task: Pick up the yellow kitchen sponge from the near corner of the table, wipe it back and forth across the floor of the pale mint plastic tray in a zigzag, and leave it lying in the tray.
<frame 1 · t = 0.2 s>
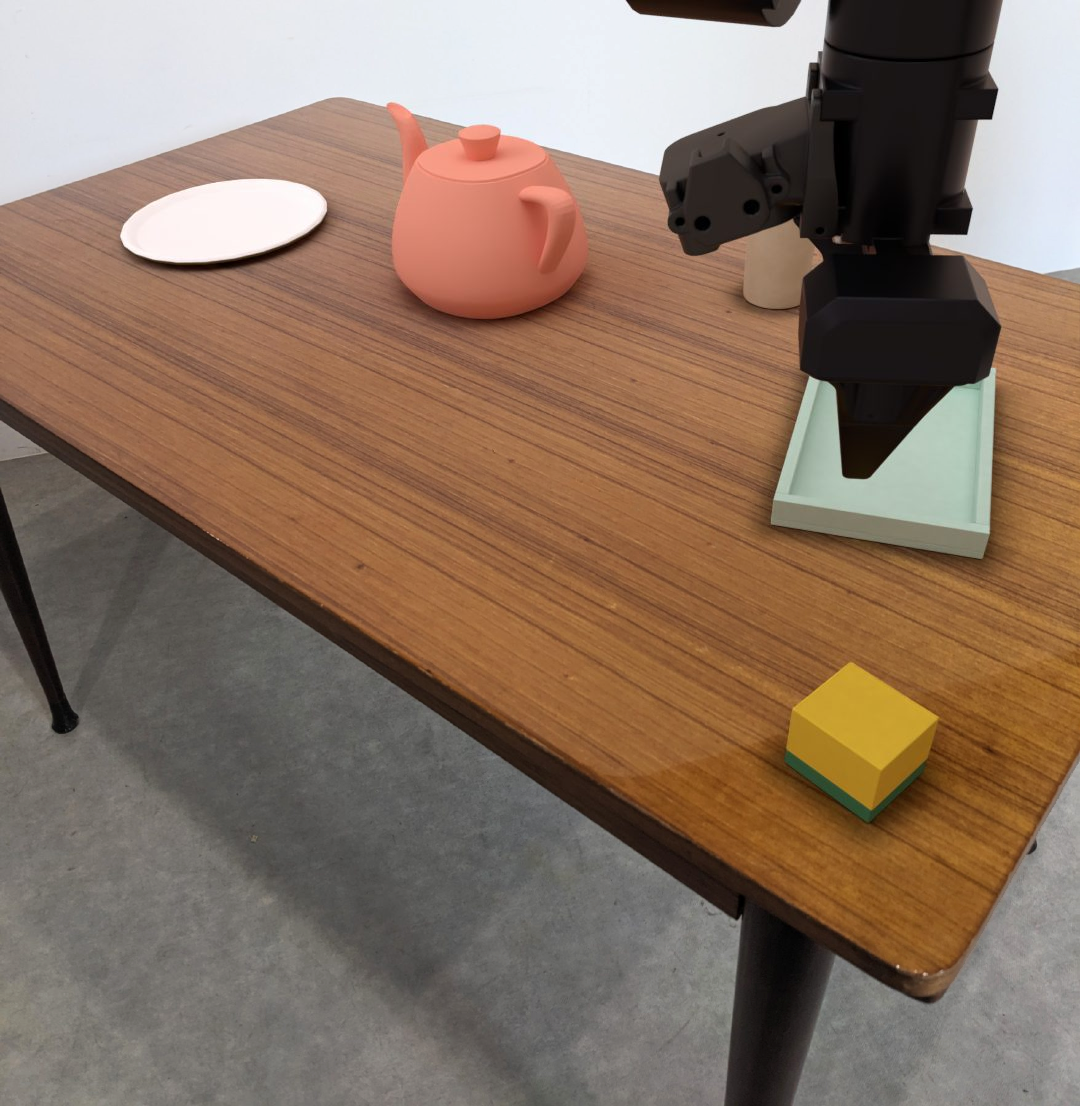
hand: (848, 416, 47), 16 cm above the table, tool pointing down, fingers open, 9 cm apart
candle: (775, 297, 90), on the table
sponge: (853, 766, 52), on the table
plate: (228, 229, 108), on the table
teapot: (486, 280, 96), on the table
tray: (888, 453, 71), on the table
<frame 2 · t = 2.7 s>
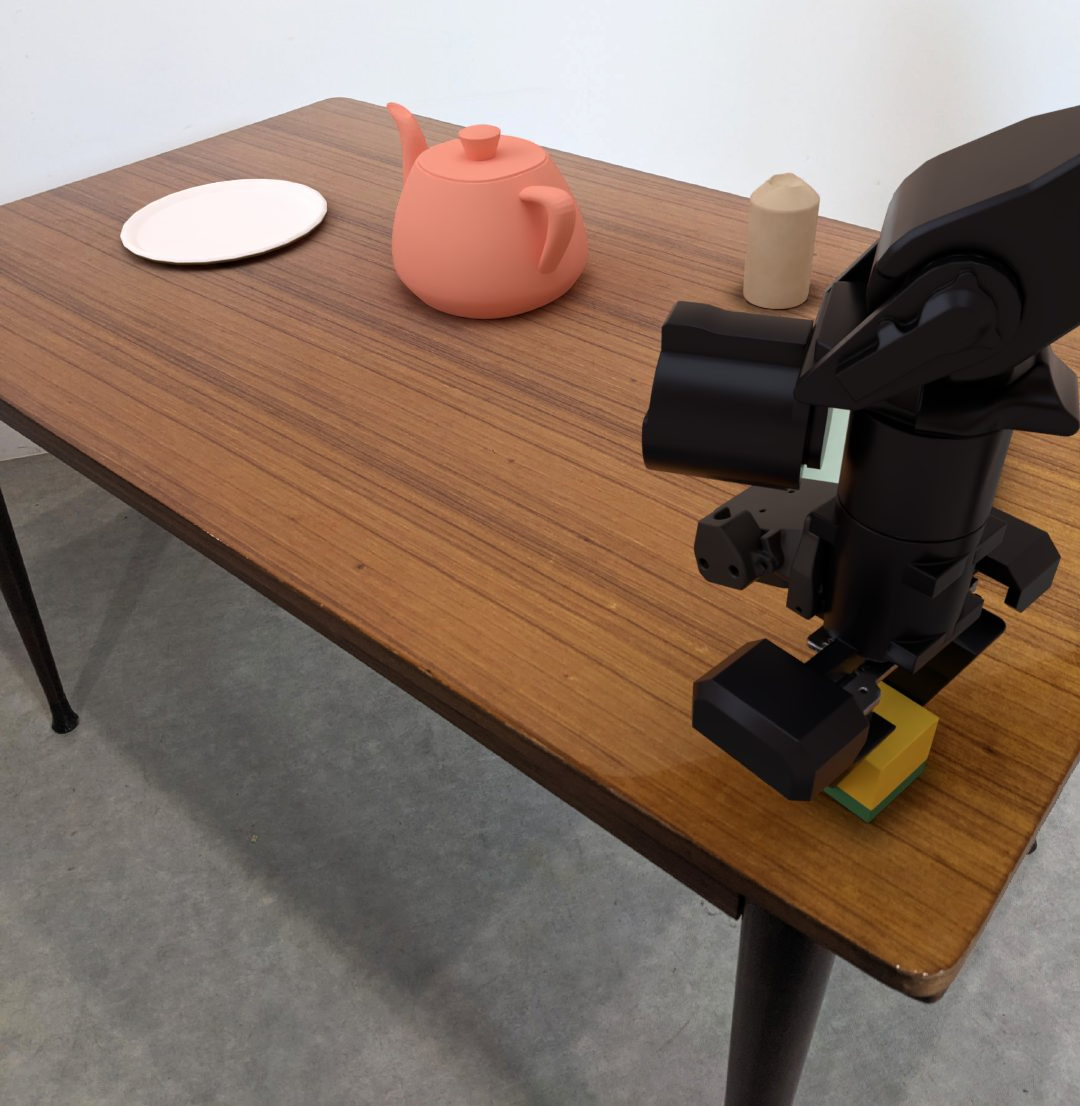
hand: (856, 753, 51), 1 cm above the table, tool pointing down, fingers closed on sponge, 4 cm apart
sponge: (853, 766, 52), on the table, touching gripper
everything else where it was.
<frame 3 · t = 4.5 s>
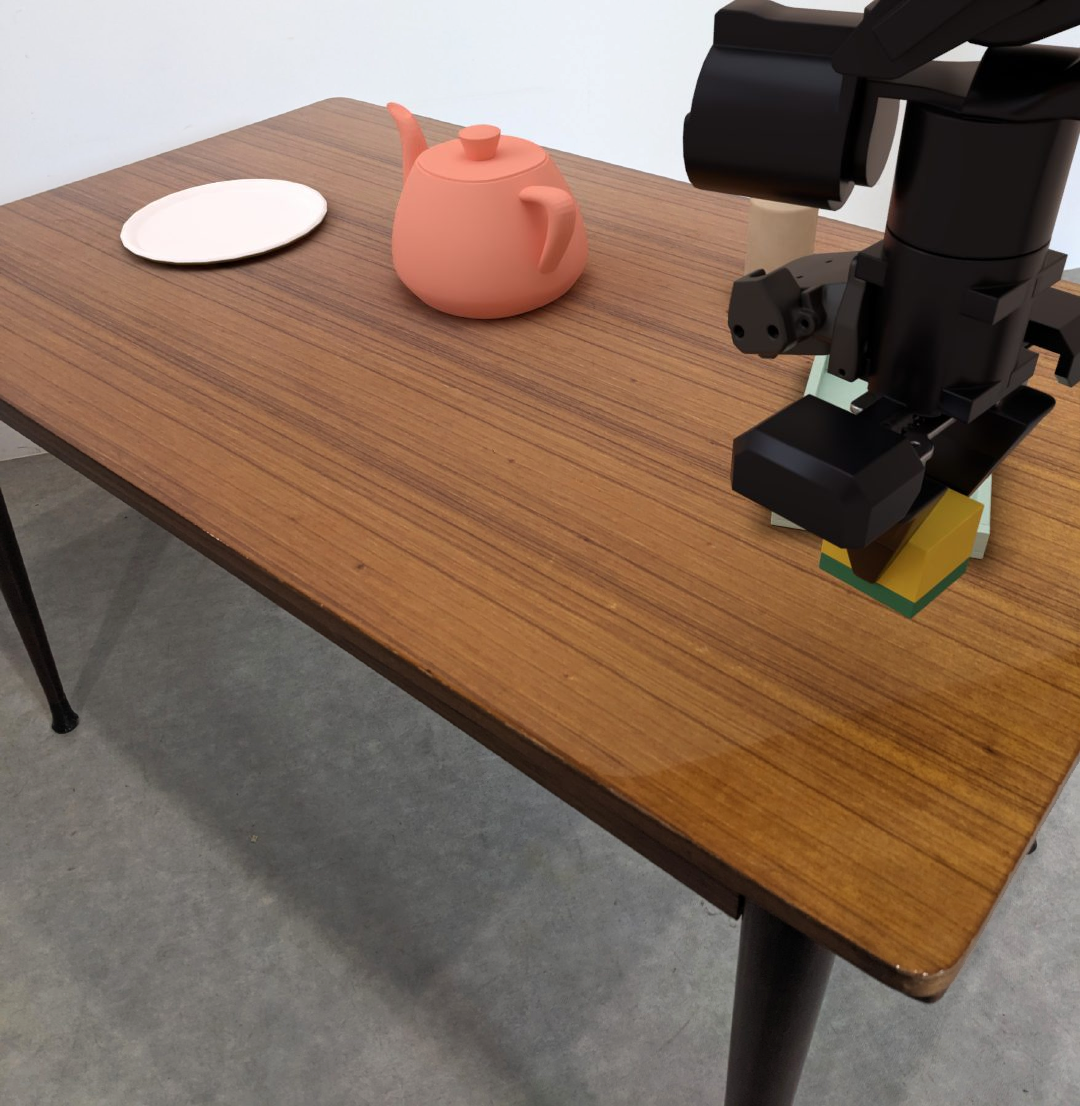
hand: (896, 553, 48), 10 cm above the table, tool pointing down, fingers closed on sponge, 4 cm apart
sponge: (891, 570, 49), point 9 cm above the table, touching gripper
everything else where it was.
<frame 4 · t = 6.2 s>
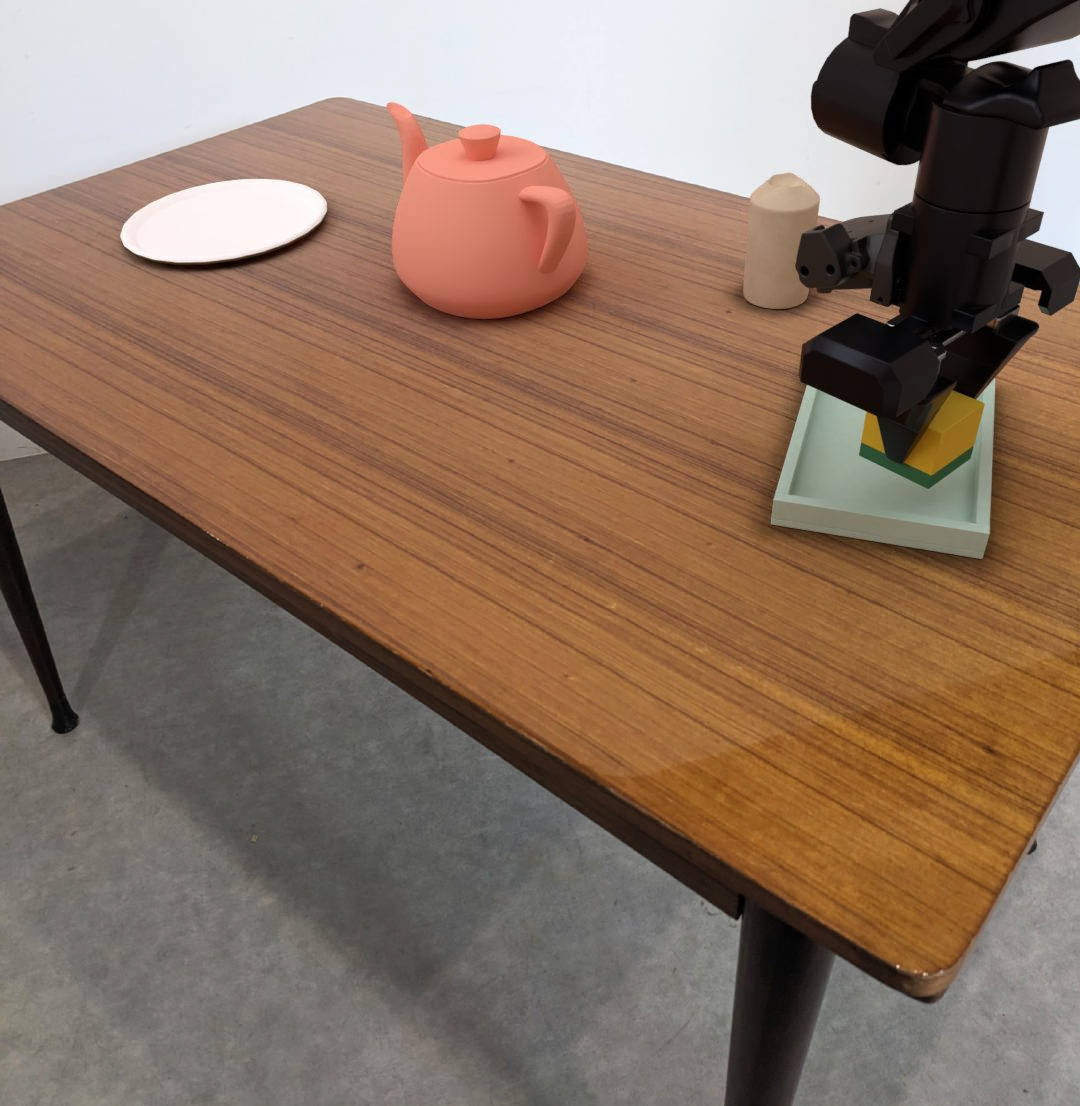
hand: (918, 444, 64), 5 cm above the table, tool pointing down, fingers closed on sponge, 4 cm apart
sponge: (914, 457, 65), point 4 cm above the table, touching gripper
everything else where it was.
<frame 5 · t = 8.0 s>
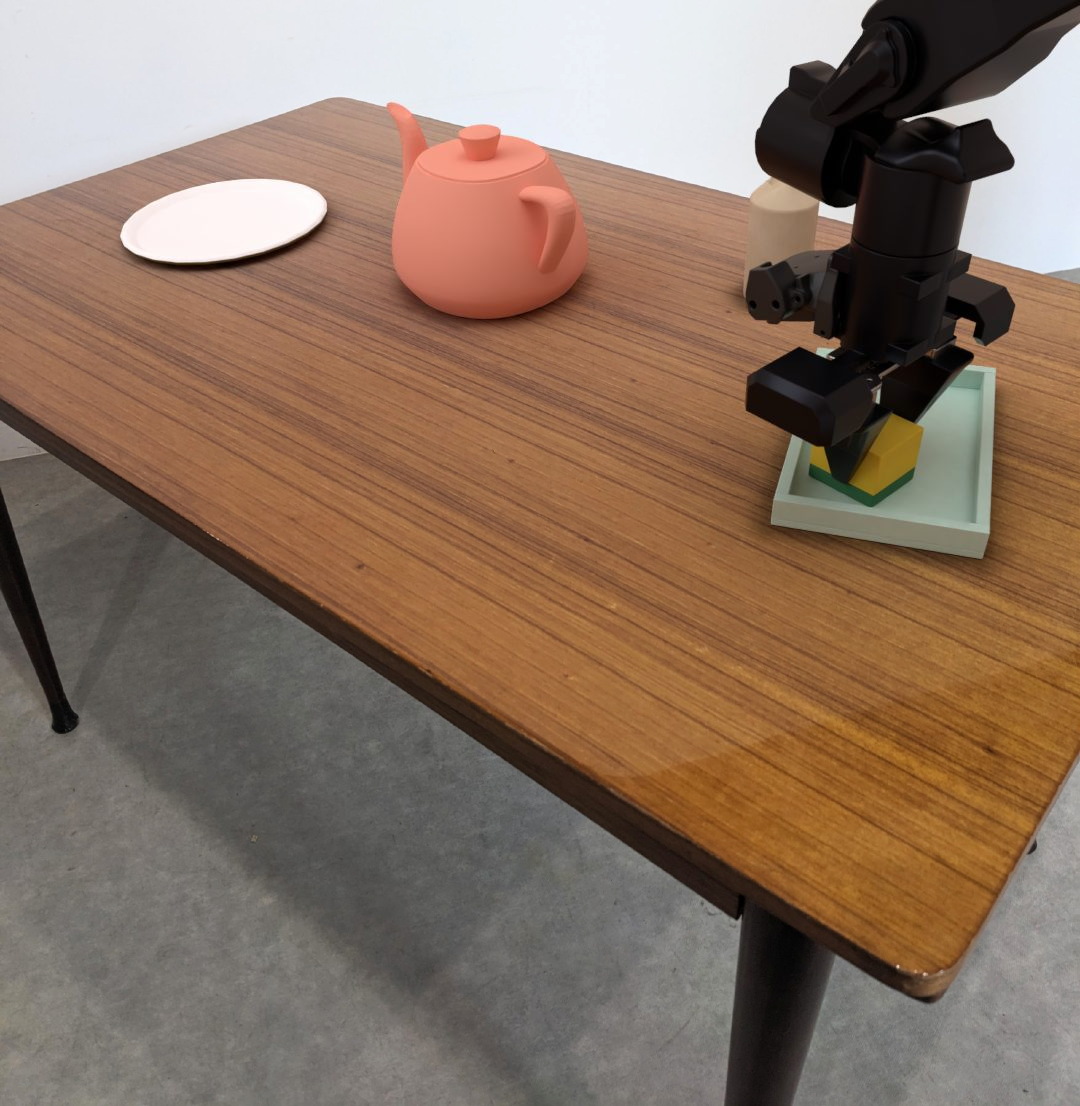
hand: (863, 465, 68), 2 cm above the table, tool pointing down, fingers closed on sponge, 4 cm apart
sponge: (860, 477, 69), point 1 cm above the table, touching gripper, tray
everything else where it was.
when the fingers open (1 cm above the table, at t = 9.6 s): sponge stays where it is, resting on tray.
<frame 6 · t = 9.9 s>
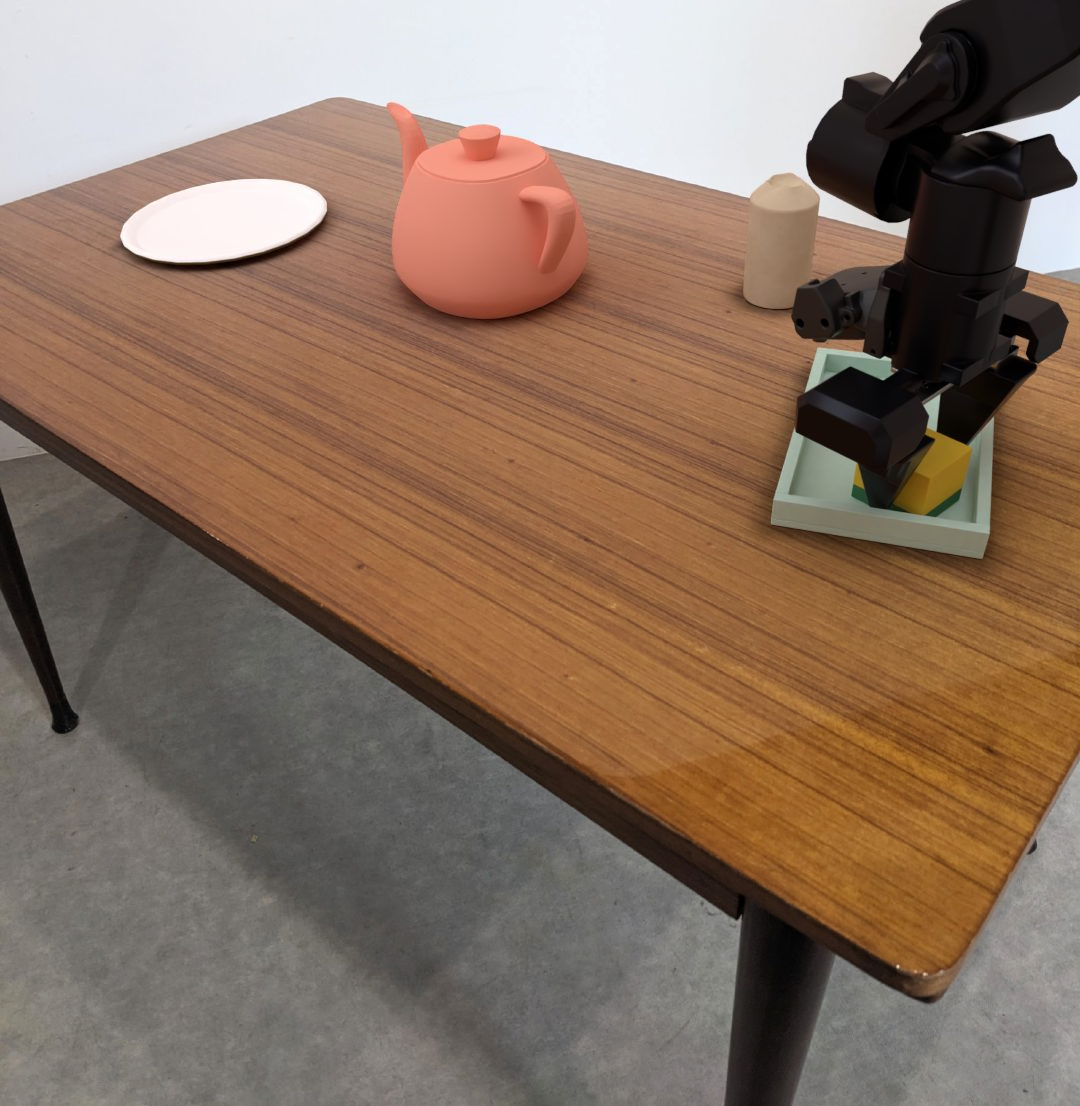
hand: (911, 485, 66), 1 cm above the table, tool pointing down, fingers open, 7 cm apart
sponge: (904, 498, 67), resting on tray
everything else where it was.
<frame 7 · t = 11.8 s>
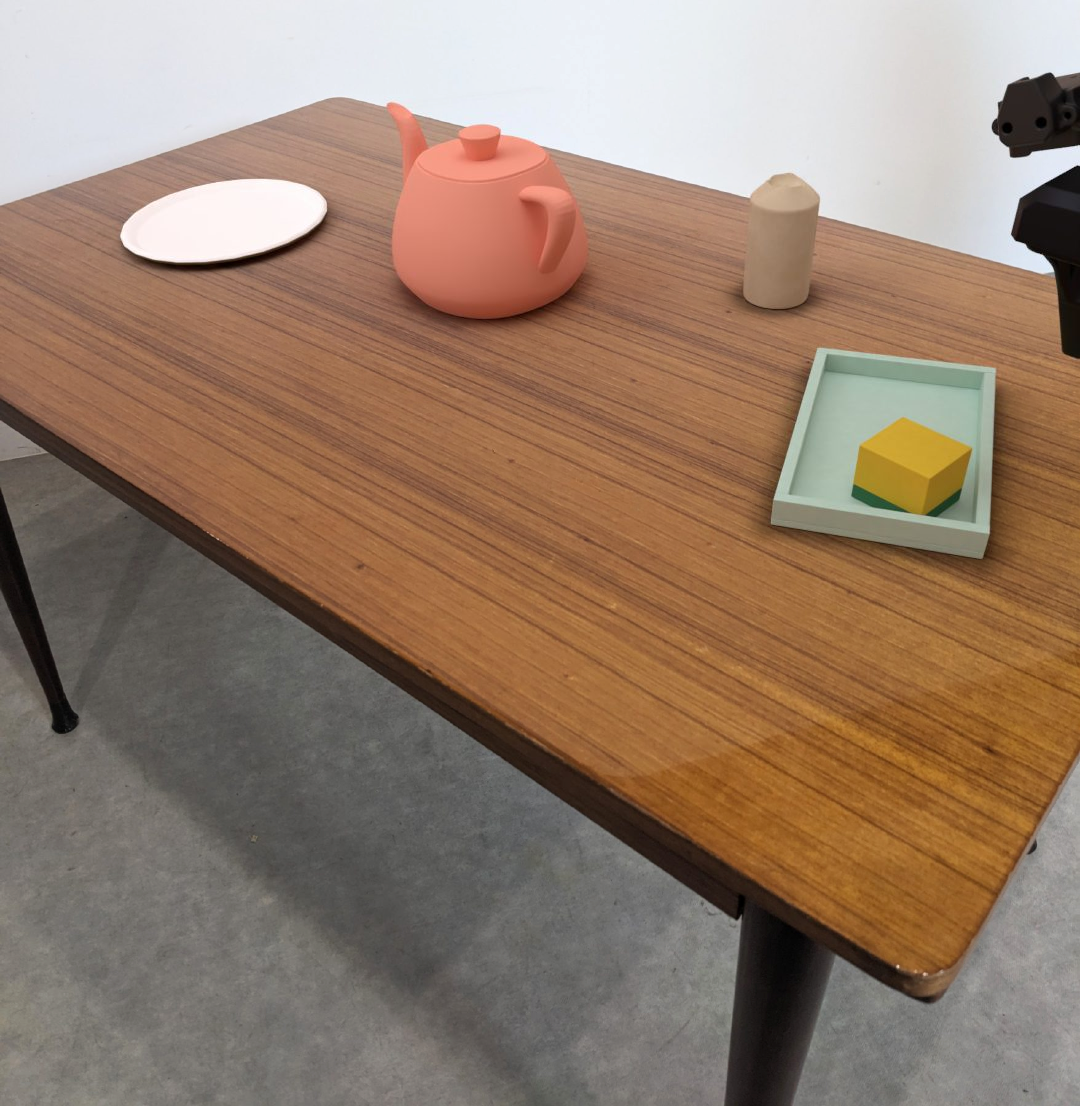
nothing on the table moved.
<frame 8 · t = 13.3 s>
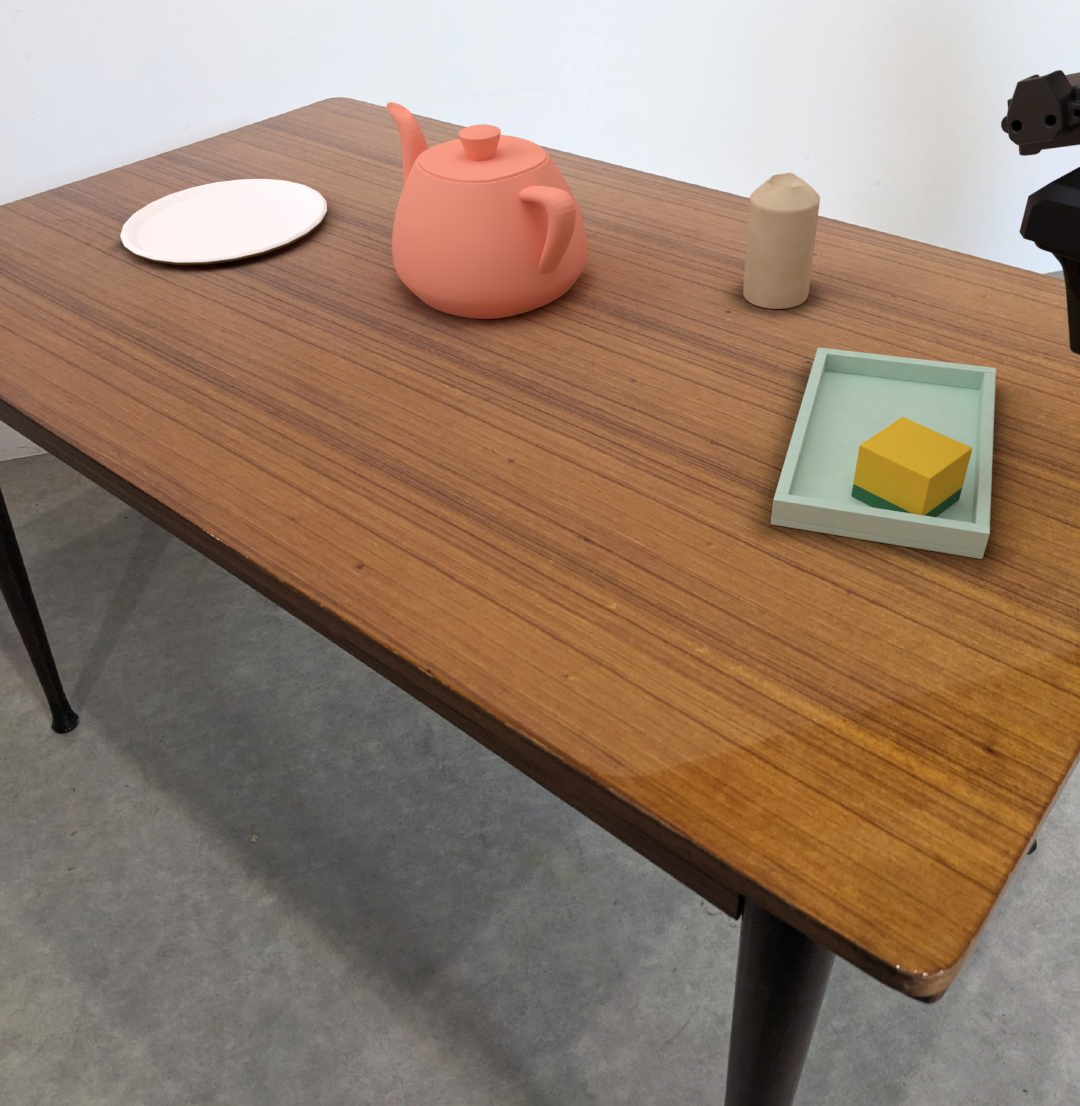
nothing on the table moved.
at the end: sponge inside the target area in the tray (5.7 cm from its centre), point 0.5 cm above the tray's base; sponge moved 22.1 cm from its start; sponge tilted 0° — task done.
